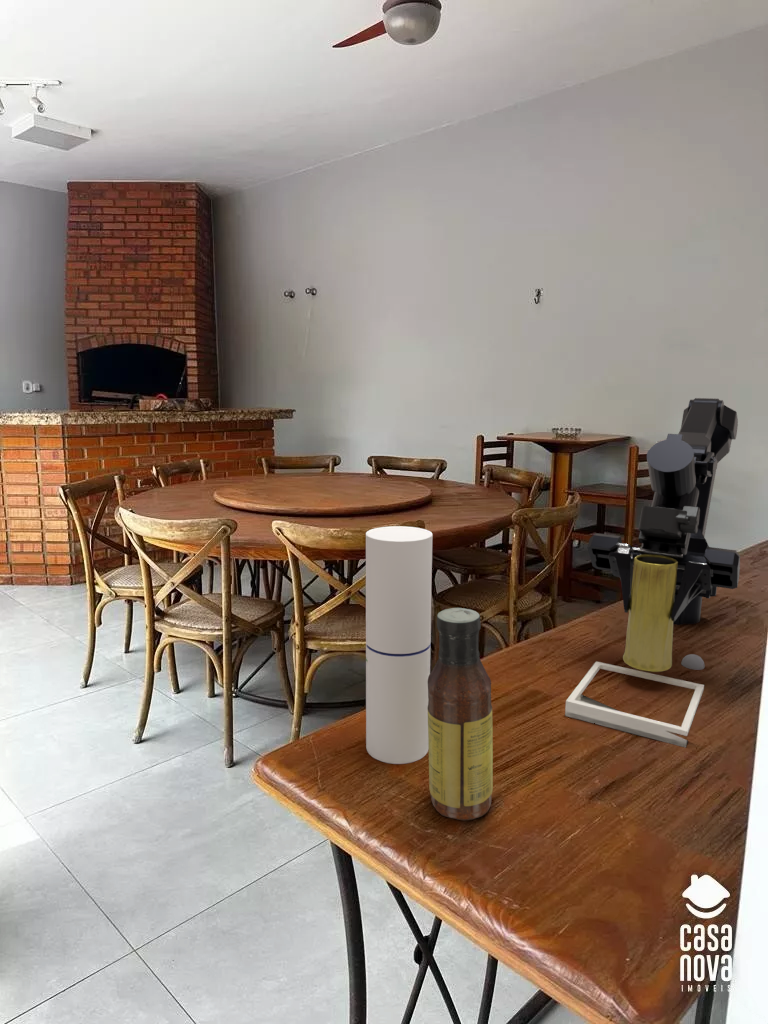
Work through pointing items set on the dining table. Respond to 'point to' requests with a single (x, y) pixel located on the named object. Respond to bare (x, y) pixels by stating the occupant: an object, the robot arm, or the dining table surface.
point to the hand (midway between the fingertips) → (648, 615)
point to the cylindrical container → (398, 642)
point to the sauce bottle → (460, 720)
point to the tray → (616, 719)
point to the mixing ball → (693, 662)
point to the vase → (651, 613)
